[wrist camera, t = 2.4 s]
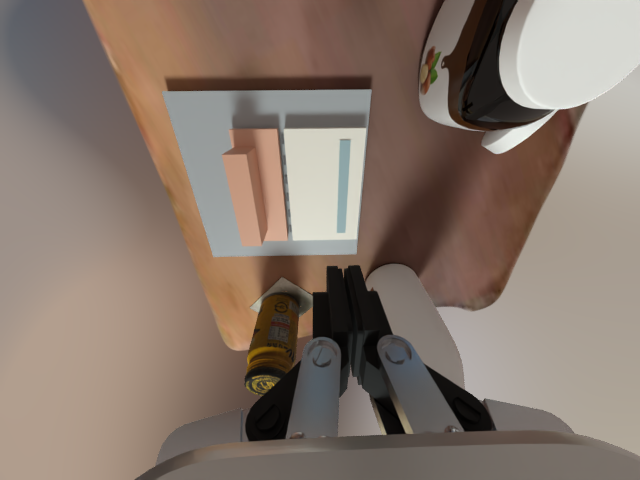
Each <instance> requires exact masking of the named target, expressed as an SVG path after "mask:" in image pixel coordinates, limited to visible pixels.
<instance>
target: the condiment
mask: <svg viewBox="0 0 640 480" xmlns="http://www.w3.org/2000/svg"><path fill="white" fill-rule="evenodd" d="M282 291H284V292H282ZM285 291H287V292H285ZM300 306H301V307H300ZM311 307H313V296H312V295H310V294H309V293H307V292H306V291H304V290H303V289H301V288H300V287H298V286H296V285H294V284H293V283H291V282H290V281H288V280H286V279H285V278H283V277H281V278H280V279H279V280H278V281H277V282H276V283H275V284H274V285H273V286H272V287H271V288H270V289H269V290H268V291H267V292H266V293H265V294H263V295H262V296H261V297H260V298H259V299H258V300H257V301H256V302H255V303H254V304H253V305H252V306H251V307H250V309H252V310H254V311H257V312H258V313H259V314H258V318H257V322H256V326H255V329H254V333H253V337H252V341H251V344H250V348H249V352H248V357H247V361H248V367H247V374H246V376H245V387H246V388H247V389H248V390H250V392H252V393H254V394H256V395H260V396H263V395H264V394H265V393H266V392H267V391H269V390H270V389H271V388H272V387H273V386H274V385H275V384H276V383H277V382H278V381H279V380H280V379H281V378H282V377H283V376H285V375H286V374H287V373H288V372H289V371H290V370H291V369H292V368H293V366H294V364H295V360H296V347H297V334H298V321H299V317H300V316H301V315H303V314H304V313H306V312H307V311H308V310H309V309H310V308H311Z"/></svg>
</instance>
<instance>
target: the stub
mask: <svg viewBox="0 0 640 480" xmlns="http://www.w3.org/2000/svg"><path fill="white" fill-rule="evenodd" d="M229 135H230V140H231V145H232V149H230V150H229V151H227V152H225V153H224V154H222V158H223V163H224V167H225V172H226V176H227V181H228V185H229V189H230V194H231V198H232V203H233V207H234V212H235V216H236V221H237V225H238V230H239V234H240V238H241V243H242V246H262V244H263V241H288V226H287V216H286V205H285V194H284V184H283V173H282V163H281V152H280V141H279V131H278V128H245V129H229Z"/></svg>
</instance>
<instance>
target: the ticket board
mask: <svg viewBox="0 0 640 480" xmlns="http://www.w3.org/2000/svg"><path fill="white" fill-rule="evenodd" d="M371 90H372V89H369V90H260V91H162V94H163V97H164V100H165V103H166V107H167V110H168V113H169V116H170V119H171V123H172V126H173V129H174V132H175V135H176V139H177V142H178V145H179V148H180V151H181V155H182V158H183V161H184V164H185V167H186V171H187V174H188V177H189V180H190V183H191V187H192V190H193V193H194V196H195V199H196V202H197V206H198V209H199V212H200V215H201V218H202V222H203V225H204V228H205V231H206V234H207V238H208V241H209V244H210V247H211V250H212V254H213V257H229V256H282V255H336V254H356V253H357V242H358V231H359V220H360V209H361V198H362V188H363V177H364V166H365V155H366V144H367V133H368V123H369V112H370V101H371ZM245 128H278V131H279V141H280V152H281V163H282V173H283V184H284V194H285V205H286V216H287V226H288V241H263V244H262V246H242V243H241V238H240V234H239V230H238V225H237V221H236V216H235V212H234V207H233V203H232V198H231V194H230V189H229V185H228V181H227V176H226V172H225V167H224V163H223V158H222V154H224V153H225V152H227V151H229V150H230V149H232V145H231V140H230V135H229V129H245Z"/></svg>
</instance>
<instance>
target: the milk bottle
mask: <svg viewBox="0 0 640 480" xmlns="http://www.w3.org/2000/svg"><path fill="white" fill-rule="evenodd" d="M365 284H366V287H367V290H368V291H377V292H378V295H379V297H380V300H381V303H382V305H383V308H384V311H385V314H386V316H387V319H388V322H389V324H390V327H391V330H392V333H393V335H397V336H400V337H402V338H405V339H406V340H407V341H409V342H410V343H411V345H412V346H413V347H414V349H415V350H416V352H417V354H418V355H419V357H420V359H421V360H422V362H423V363H424V364H426V365H427V366H429V367H430V368H432V369H433V370H435V371H436V372H438V373H439V374H441V375H443V376H444V377H446V378H447V379H449V380H450V381H452V382H453V383H455V384H456V385H458V386H459V387H461V388H463V389H464V390H465V386H464V374H463V366H462V361H461V358H460V354H459V351H458V349H457V347H456V344H455V342H454V340H453V339H452V336H451V335H450V333H449V331H448V329H447V327H446V325H445V323H444V322H443V320H442V318H441V316H440V315H439V313H438V311H437V309H436V308H435V306H434V304H433V302H432V301H431V299H430V297H429V295H428V294H427V292H426V290H425V288H424V287H423V285H422V283H421V282H420V280H419V278H418V277H417V275H416V274H415V272H414V271H413V270H412V269H411V268H409V267H407V266H405V265H402V264H387V265H384V266H381V267H379V268H377V269H376V270H374V271H373V272H372V273H371V274H370V275H369V277H368V278H367V280H366V283H365Z"/></svg>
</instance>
